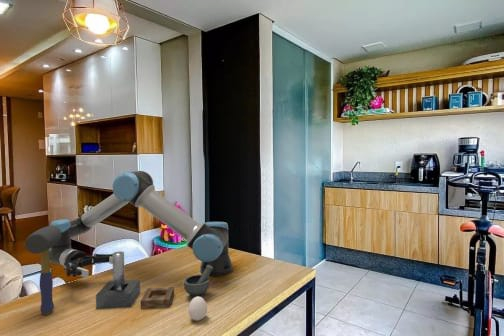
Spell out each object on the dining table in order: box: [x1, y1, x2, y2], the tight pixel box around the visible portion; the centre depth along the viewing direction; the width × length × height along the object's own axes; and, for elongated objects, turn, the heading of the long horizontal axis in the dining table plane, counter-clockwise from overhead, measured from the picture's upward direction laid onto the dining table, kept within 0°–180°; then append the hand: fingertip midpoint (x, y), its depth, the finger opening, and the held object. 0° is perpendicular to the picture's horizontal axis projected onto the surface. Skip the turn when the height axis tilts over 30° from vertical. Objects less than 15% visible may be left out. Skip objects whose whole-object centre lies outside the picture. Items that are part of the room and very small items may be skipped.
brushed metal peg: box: [111, 251, 126, 290], centre depth 113 cm, size 4×4×16 cm
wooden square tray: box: [140, 286, 175, 310], centre depth 111 cm, size 10×10×3 cm
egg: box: [188, 296, 208, 321], centre depth 99 cm, size 6×6×8 cm
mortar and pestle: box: [183, 265, 213, 302], centre depth 115 cm, size 11×9×12 cm
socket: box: [95, 279, 141, 310], centre depth 113 cm, size 12×12×5 cm
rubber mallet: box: [24, 225, 62, 315], centre depth 103 cm, size 12×8×30 cm, turn 13°
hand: (104, 268), depth 117 cm, fingers open, 13 cm apart
